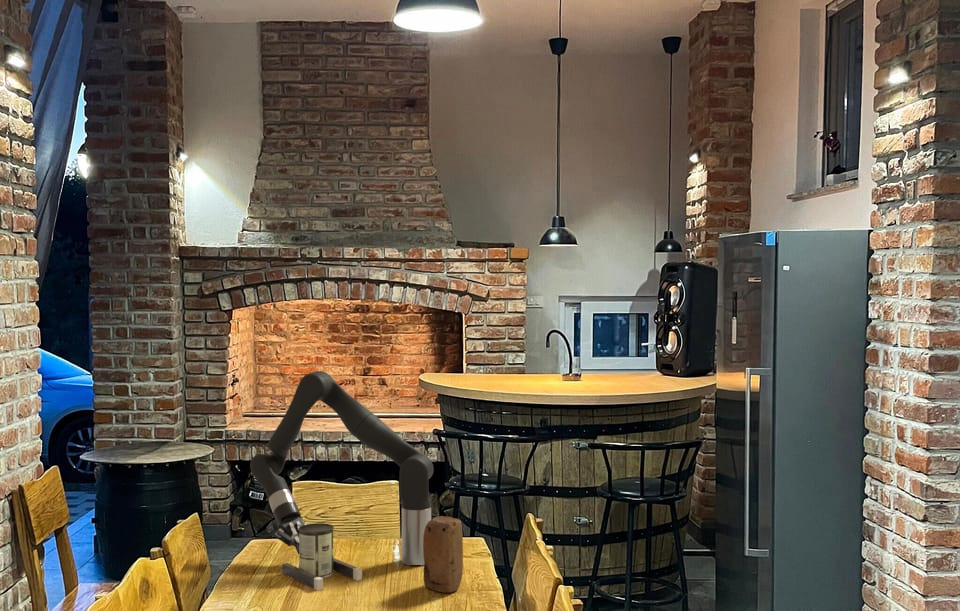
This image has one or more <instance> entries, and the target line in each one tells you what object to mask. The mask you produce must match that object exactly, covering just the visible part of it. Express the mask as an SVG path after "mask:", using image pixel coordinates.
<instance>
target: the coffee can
mask: <svg viewBox="0 0 960 611" xmlns="http://www.w3.org/2000/svg"><path fill="white" fill-rule="evenodd" d="M306 524H307V525H303V526H301V527H299V554H298V560H299V562H298V563H299V565H298V568H300V569H302V570H304V571H306V572H308V573H311V574H313V575H315V576H317V577H321V578H323V580H324V579H328V578H330V577H332V576H333V575H334V572H335V571H333V558H334V525H332V524H331V523H322V522H320V523H319V522H317V523H316V522H315V523H306Z"/></svg>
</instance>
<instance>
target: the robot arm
mask: <svg viewBox="0 0 960 611" xmlns="http://www.w3.org/2000/svg"><path fill="white" fill-rule="evenodd" d="M318 401H320V402H322V403H323V404H325V405H326V406H327V407H329V408H331V410H333V411H334V413H336V415H338V417H339V419H340V420H341V421H342V422H341V423H343V425H344V426H345V428H346V430H348V432H349V433H350V434H352V436H353V437H354V438H356V439H357V440H358V441H360V443H362V444H363V445H365V446H366V447H367V448H369V449H371V450H373V451H375V452H378V453H380V454H382V455H384V456H386V457H388V458H389V459H390V460H392V461H393V462H394V463H395V464H397V466H398V467H400V468H399V482H398V483H399V498H400V502H401V564H403V565H405V564H406V566H410V565H421V566H424V554H423V541H424V540H423V535H424V530H425V527H426V525H427V523H428V522H429V521H430V520H431V519H432V498H431V496H430V492H429V490H430V489H429V488H430V486H429V480H430V479H431V478H432V476H433V475H434V464H433V462H432V460H431V459H430V458H429V457H428V456H427V455H426V454H424V453H423V452H421V451H420V450H418V449H417V448H415V447H414V446H412V445H410V444H409V443H408V442H406V440H404V439H402V437H401V436H399V434H397V433H396V432H395V430H393V429H392V428H390V426H388V425H387V424H386V423H385V422H384V421H383V420H381V419H380V418H379V417H378V416H376V414H375V413H373V412H372V411H371V410H369V409H368V408H366V406H364V405H363V404H362V403H360V402H359V401H358V400H356V399H355V398H354V397H353V396H351V395H350V394H349V393H348V392H347V391H346V390H345V389H344V388H343V387H342V386H341V385H340V384H339V383H338V382H337V381H336V380H335V379H334V378H333V377H332V376H331V375H330V374H328V373H327V372H326V371H322V370H316V371H313V372H309V373H306V374H305V375H303V376H302V378H301V379H300V380H299V383H298V384H297V388H296V390H295V392H294V395H293V398H292V400H291V402H290V404H289V405H288V406H289V407H288V408H287V410H286V412H285V414H284V416H283V418H282V420H281V421H280V423H279V424H278V425H277V427H276V429H275V430H274V432H273V434H272V435H271V436H270V438H269V441H268V443H267V447H268V449H269V450H270V451H271V452H272V453H271V454H264V453H259V454H258V453H257V454H256V455H254V456H253V457H252V458H251V459H250V460H251V461H250V464H249V466H250V472H251V474H252V476H253V477H254V478H255V480H256V481H257V483H258V484H259V485H260V486H261V488H262V489H263V490H264V491H265V492H264V493H265V495H266V497H267V500H268V503H269V506H270V509H271V511H272V514H273V516H274V519H275V521H276V524H277V525H278V530H277V531H276V532H275V533H274V537H275V539H278V540H279V541H281V542H282V543H284V544H285V545H286V546H288V547H295V550H296V552H297V554H298V555H299V527H301V526H303V525H307V524H308V523H306V522H305V520H304V519H303V518H302V516H301V515H302V514H301V512H300V510H299V507H298V505H297V502H296V500H295V498H294V495H293V494H292V492H291V491H290V488H289V485H288V483H287V482H286V479H285V478H284V477H282V476H280V475H279V474H281V473H282V471H283V470H284V467H285V464H286V460H287V458H288V457H287V456H288V453H289V450H290V449H291V447H292V446H293V444H294V443H295V441H296V439H297V438H298V435H299V434H300V431H301V429H302V425H303V422H304V420H305V418H306V417H307V415H308V413H309V411H310V410H311V409H312V408H313V406H314V405H315V404H316V403H317V402H318Z"/></svg>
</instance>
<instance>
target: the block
mask: <svg viewBox="0 0 960 611" xmlns="http://www.w3.org/2000/svg"><path fill="white" fill-rule="evenodd" d="M423 540H424V541H423V554H424V565H423V584H424V587H426V588H428V589H430V590H432V591H436V592H439V593H445V594H446V593H454V592H456V591H458V590H459V589H460V586H461V582H462V578H463V574H464V573H463V571H464V570H463V569H464V568H463V567H464V549H463V548H464V540H463V526H462V521H461V520H460V519H459V518H454V517H452V516H448V515H447V516H444V515H439V516H435V517H433V518H431V520H430V521H429V522H428V523H427V525H426V527H425V530H424V535H423Z"/></svg>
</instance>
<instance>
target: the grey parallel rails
mask: <svg viewBox="0 0 960 611" xmlns="http://www.w3.org/2000/svg"><path fill="white" fill-rule="evenodd" d="M281 566H282V567H281V568H282V569H281V571H282V572H281V573H283V574H284V575H283V574H282V575H283V576H286V575H287V576H286V577H288V576H289V577H288V578H290V577H291V579H292V578H293V579H292V580H294V579H295V581H296V580H297V581H296V582H298V581H299V582H298V583H300V582H301V584H302V585H305V586H307V587H308V588H311V589H313V590H315V591H316V592H317V591H318V592H319V591H322V590H324V579H323V578H321V577H317V576H315V575H313V574H311V573H308V572H306V571H304V570H302V569H300V568H299V567H297V566H295V565H293V564H290V563H289V562H285V563H282V565H281ZM333 570H334V571H333V572H335V571H336V572H335V573H338V574H340V573H341V574H340V575H342V574H343V576H345V577H347V578H349V577H350V579H351V580H354V581H357V582H358V581H362V580H363V568H361V567H356V566H354V565H351V564H349V563H347V562H345V561H341V560H339V559H337V558H335V557H333Z"/></svg>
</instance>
